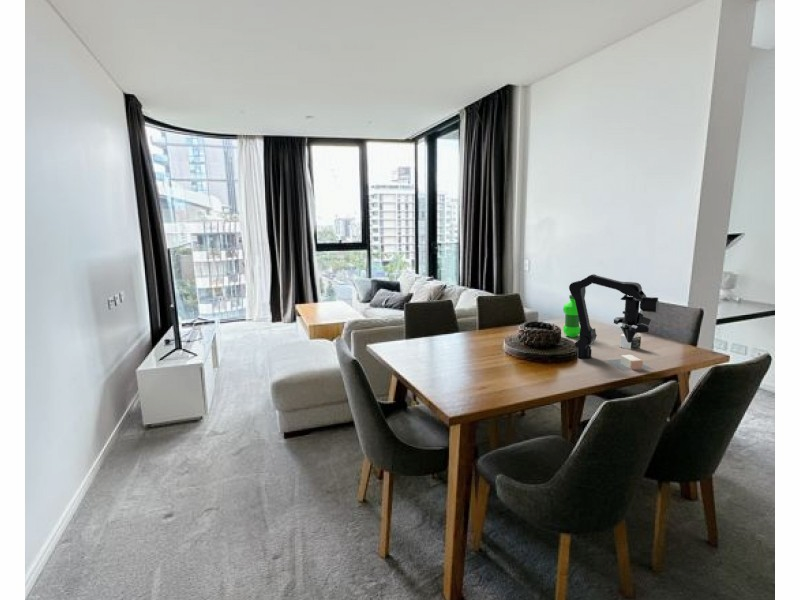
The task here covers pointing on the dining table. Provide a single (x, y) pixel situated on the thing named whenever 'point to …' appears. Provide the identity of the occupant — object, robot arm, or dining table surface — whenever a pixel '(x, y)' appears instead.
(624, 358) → the cream block
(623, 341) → the medicine bottle
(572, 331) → the plastic bottle
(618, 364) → the gray mat
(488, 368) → the dining table surface
